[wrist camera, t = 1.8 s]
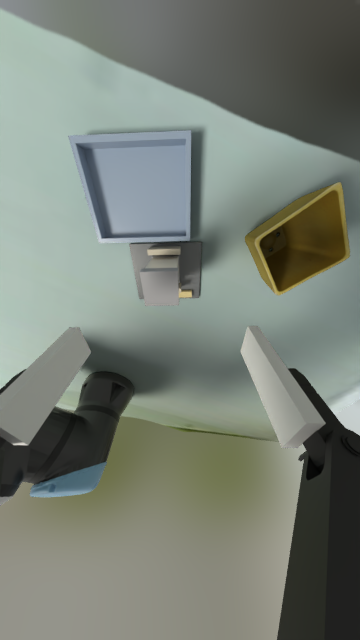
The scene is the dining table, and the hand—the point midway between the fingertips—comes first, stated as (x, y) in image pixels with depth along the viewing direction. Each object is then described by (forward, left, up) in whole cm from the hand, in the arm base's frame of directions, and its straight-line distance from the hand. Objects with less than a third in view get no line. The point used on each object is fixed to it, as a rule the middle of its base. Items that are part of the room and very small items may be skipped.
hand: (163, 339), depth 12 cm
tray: (-4, +11, -19) cm, 22 cm away
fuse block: (-1, 0, -19) cm, 19 cm away
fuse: (-1, +1, -19) cm, 19 cm away
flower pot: (+16, +5, -19) cm, 25 cm away
